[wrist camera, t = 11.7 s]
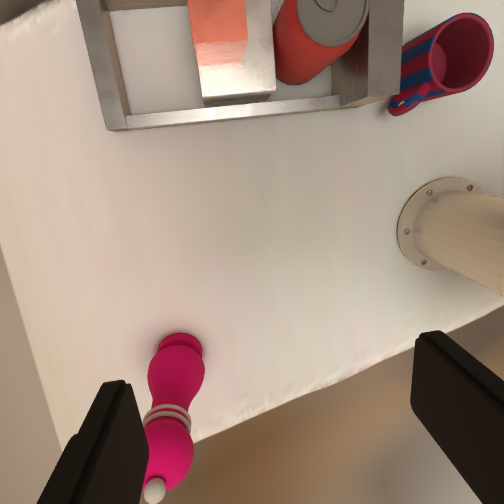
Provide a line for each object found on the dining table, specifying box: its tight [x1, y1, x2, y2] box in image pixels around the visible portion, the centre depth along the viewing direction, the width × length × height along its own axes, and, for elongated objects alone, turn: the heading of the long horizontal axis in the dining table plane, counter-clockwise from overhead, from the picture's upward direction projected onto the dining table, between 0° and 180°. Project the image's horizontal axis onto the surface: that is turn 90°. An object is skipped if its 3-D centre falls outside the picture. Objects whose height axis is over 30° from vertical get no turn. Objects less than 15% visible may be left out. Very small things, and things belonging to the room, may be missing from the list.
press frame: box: [76, 0, 404, 132], centre depth 29 cm, size 28×12×9 cm, turn 96°
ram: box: [187, 0, 276, 106], centre depth 27 cm, size 7×9×12 cm
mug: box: [388, 13, 494, 116], centre depth 33 cm, size 7×10×7 cm
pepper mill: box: [142, 333, 205, 504], centre depth 35 cm, size 7×7×20 cm
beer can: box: [272, 0, 370, 85], centre depth 28 cm, size 7×7×12 cm
